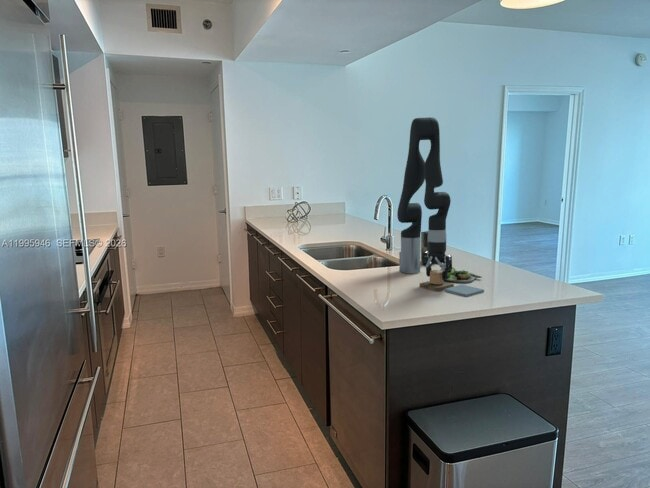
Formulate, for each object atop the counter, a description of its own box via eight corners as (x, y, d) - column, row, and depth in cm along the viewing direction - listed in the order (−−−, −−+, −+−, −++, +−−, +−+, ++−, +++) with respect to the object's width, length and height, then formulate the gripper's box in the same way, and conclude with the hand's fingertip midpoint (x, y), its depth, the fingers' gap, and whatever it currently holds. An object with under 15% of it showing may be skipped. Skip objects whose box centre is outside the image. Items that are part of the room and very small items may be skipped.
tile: (444, 291, 195) (444, 288, 195) (461, 286, 201) (461, 284, 201) (466, 297, 186) (466, 294, 186) (483, 292, 192) (484, 289, 192)
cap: (426, 282, 202) (427, 271, 201) (435, 280, 205) (436, 269, 204) (437, 284, 197) (437, 273, 196) (446, 282, 200) (446, 271, 200)
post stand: (419, 286, 203) (419, 273, 202) (435, 282, 208) (435, 269, 207) (437, 291, 195) (437, 277, 193) (453, 287, 200) (453, 273, 199)
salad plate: (485, 276, 218) (485, 267, 217) (476, 286, 203) (477, 275, 202) (443, 273, 227) (443, 263, 227) (432, 281, 212) (432, 271, 211)
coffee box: (440, 263, 246) (441, 232, 244) (430, 264, 244) (430, 233, 241) (430, 260, 255) (431, 230, 252) (420, 261, 252) (420, 231, 250)
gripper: (418, 239, 201) (418, 276, 204) (444, 243, 190) (443, 282, 192) (430, 237, 206) (430, 273, 208) (456, 240, 194) (456, 279, 197)
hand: (436, 278), depth 200 cm, fingers open, 8 cm apart
